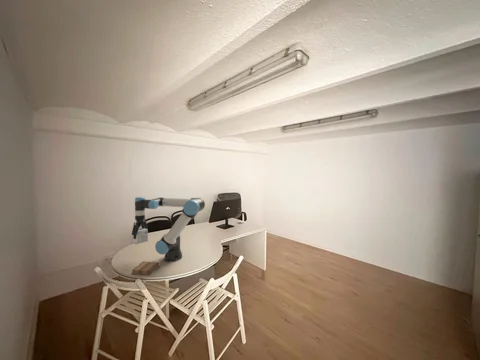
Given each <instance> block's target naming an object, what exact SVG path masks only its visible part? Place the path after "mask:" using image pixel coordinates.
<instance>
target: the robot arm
mask: <svg viewBox="0 0 480 360" xmlns="http://www.w3.org/2000/svg"><path fill="white" fill-rule="evenodd" d="M205 205H206V204H205V201H204V200H203V198H201V197H191V198H173V197H172V198H167V197H156V198H151V199H145V196H136V197H135V198H134V215H135V216H134V220H135V221H136V222H133V227H132V230H131V231H132V232H131V236H132V235H134V243H137V232H138V229H140V227H142V228H146V229H148V224H147V219H146V216H145V215H146V212H145V211H146V209H149V210H156V209H158V208H159V207H168V208H182V209H181V214H180V216H179V217H178V218H177V220H175V222H174V224H173V225H172V226H171V228H170V229H169V231H167V233H164V234H163V235H162V237H161V238H160V239H159V240H157V242H156V243H155V244H154V248H155V251H156V252H157V253H158V254H159V255H164V260H165V261H167V262H176V261H180V260H181V259H182V258H183V252H182V249H181V233H182V232H183V230H184V229H185V227H186V226H187V225H188V224H189V222H190V221H191V220H193V219H194V218H196V216H197V215H198V213H200V212H202V211H203V210H204V209H205ZM142 228H141V229H142ZM134 243H133V244H134Z"/></svg>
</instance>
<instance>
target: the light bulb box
mask: <svg viewBox="0 0 480 360" xmlns="http://www.w3.org/2000/svg"><path fill="white" fill-rule="evenodd" d="M131 237H132V239H131V240H132V244H133V245H138V244H139V245H140V244H142V243H146V242H148V241H149V231H148V228H147V229H146V228H139V229H138V232H137V243H134V235H132V234H131Z"/></svg>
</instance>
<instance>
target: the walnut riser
mask: <svg viewBox="0 0 480 360" xmlns="http://www.w3.org/2000/svg"><path fill="white" fill-rule="evenodd" d="M159 267H160V262H158V261H157V262H156V261H145V260H144V261H142V262H140V263H138V265H136V266H135V267H134V268H133V269H132V271H131V272H132V274H133V275H136V274H137V275H147V276H148V275H149V276H150V275H151V274H152V273H153V272H154V271H156V270H157V269H158V268H159Z"/></svg>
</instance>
